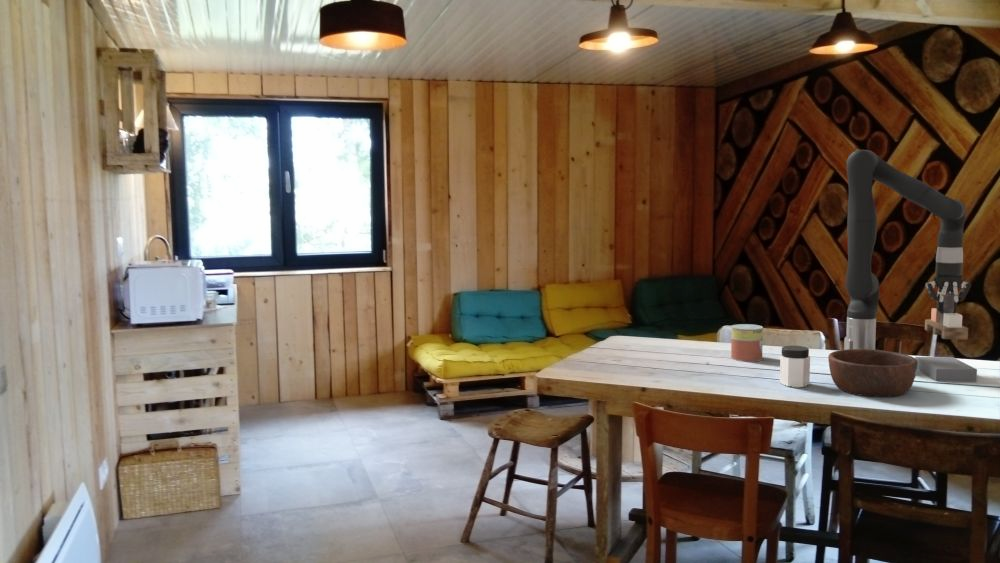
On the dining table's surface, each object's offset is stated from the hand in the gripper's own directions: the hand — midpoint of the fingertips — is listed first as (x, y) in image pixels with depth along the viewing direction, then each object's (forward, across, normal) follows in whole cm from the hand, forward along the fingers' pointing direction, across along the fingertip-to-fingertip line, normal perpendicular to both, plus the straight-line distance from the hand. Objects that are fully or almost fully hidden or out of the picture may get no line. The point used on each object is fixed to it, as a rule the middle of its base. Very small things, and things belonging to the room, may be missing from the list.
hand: (946, 312), depth 248 cm
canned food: (+22, -60, +22) cm, 67 cm away
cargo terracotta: (+4, 0, +5) cm, 6 cm away
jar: (+21, -50, -16) cm, 57 cm away
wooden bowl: (+21, -28, -19) cm, 40 cm away
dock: (+21, +1, +1) cm, 21 cm away
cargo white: (+4, 0, -5) cm, 6 cm away
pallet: (+7, 0, 0) cm, 7 cm away
